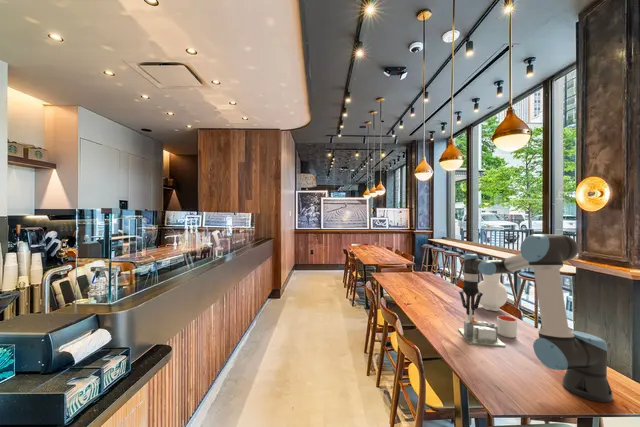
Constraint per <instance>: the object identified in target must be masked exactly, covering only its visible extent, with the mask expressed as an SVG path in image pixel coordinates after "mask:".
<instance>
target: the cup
mask: <svg viewBox="0 0 640 427" xmlns="http://www.w3.org/2000/svg"><path fill="white" fill-rule="evenodd" d="M496 318H497V321H496V326H497V327H498V334H497V335H499V336H501V337H504V338H511V339H512V338H516V337H517V334H518V333H517V332H518V319H517V318H514V317H512V316H507V315H498V316H496Z"/></svg>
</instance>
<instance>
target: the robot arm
mask: <svg viewBox="0 0 640 427" xmlns="http://www.w3.org/2000/svg"><path fill="white" fill-rule="evenodd" d="M519 251H520V253H519V254H516V255H513V256H510V257H507V258H504V259H480V258H479V255H478V254H476V253H464V256H463V288H462V290H459V291H458V293H459V296H460V299H461V304H462V307H463V308H464V309H465V310H466V311H465V312H466V315H467V321H472V315H473V316H474V315H475V310H478V309H479V305H480V303H479V302H480V298H481V296H482V295H483V294H482V293H481V292H479V290H478V283H479V274H480V275H481V274H482V275H483V274H484V275H493V274H501V275H502V274H504V275H505V274H506V275H508V274H514V273H515V272H517V271H520V270H523V269H528V268H532V269H533V274H534V280H535V286H536V287H535V288H536V293H537V294H536V295H537V301H538V308H539V315H540V316H539V317H540V321H541V328H540V329H539V330H538V331H537V334H538V338H536V339H535V340H534V341H533V345H532V346H533V351H534V354H535V356H536V357H537V359H538V360H539V361H540V362H541V363H542V364H543V366H545V367H547V368H548V369H551V370H553V371H556V370H557V371H565V373H564V375H563V378H562V385H563V387H564V388H565V389H566V390H568V392H570V393H572V394H573V395H576V396H578V397H581V398H582V399H587V400H589V401H592V402H599V403H611V402H613V397H614V396H613V390H612V389H611V385H610V383H609V381H608V375H607V374H608V370H607V369H608V344H607V342H606V341H605V340H604V339H603V338H601V337H599V336H596V335H593V334H590V333H586V332H583V331H578V330H569V323H568V317H567V311H566V304H565V299H564V298H565V296H564V292H563V286H562V278H561V272H560V270H561V269H562V268H563V267H564V262H567V261H568V262H569V261H571V260H573V259H574V258H576V256H577V255H578V253H579V244H578V242H576V240H575V239H574V238H572V237H571V236H568V235H565V234H558V233H557V234H550V233H549V234H547V233H538V234H530V235H528V236H526V237H525V238H524V239H523V240H522V242H521V244H520V249H519ZM464 294H465V296H464ZM476 294H477V298H476V296H475V295H476ZM465 298H466V299H465Z"/></svg>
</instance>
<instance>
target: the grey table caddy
mask: <svg viewBox="0 0 640 427" xmlns="http://www.w3.org/2000/svg"><path fill="white" fill-rule="evenodd" d="M476 321H477V323H480V324H486V325H493V328H490V327H484V326H478V325H474V324H472V323H471V322H470V321H469V320H464V321H463V328H459V327H458V329H457V331H458V332H459V333H460V334H461V335H462V337H463V339H465V340H466V342H467V343H468V344H469V345H477V346H478V345H479V346H485V347H486V346H487V347H499V348H500V347H501V348H506V347H507V346H506V344H505V343H504V342H503V341H501V340H500V339H499V338H498V335H499V334H498V327H497V325H495V323H490V324H489V323H488V321H481V320H480V321H479V320H476Z"/></svg>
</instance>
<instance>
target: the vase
mask: <svg viewBox="0 0 640 427" xmlns="http://www.w3.org/2000/svg"><path fill="white" fill-rule="evenodd" d="M482 275H483V280H481V281H478V290H479V292H481V293H482V294H483V295H482V296H481V298H480V302H479V305H482V309H484V310H485V311H493V312H499V311H501V310H500V308H501V307H503V306H504V305H505V304H506V302H507V301H508V292H507V288H506V287H505V285H504V284H503V283H502V282H500V279H501V276H502V274H493V275H484V274H482ZM476 298H477V294H476V295H475V299H476Z"/></svg>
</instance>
